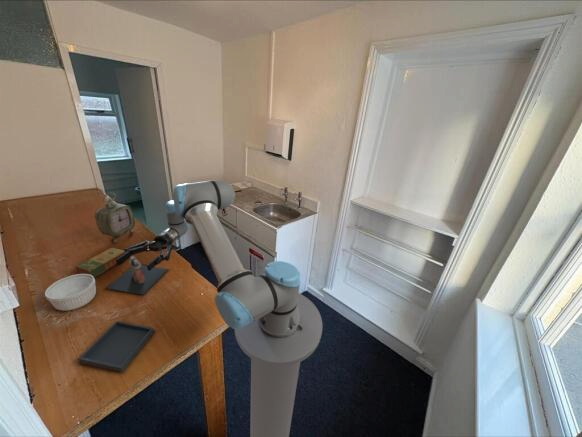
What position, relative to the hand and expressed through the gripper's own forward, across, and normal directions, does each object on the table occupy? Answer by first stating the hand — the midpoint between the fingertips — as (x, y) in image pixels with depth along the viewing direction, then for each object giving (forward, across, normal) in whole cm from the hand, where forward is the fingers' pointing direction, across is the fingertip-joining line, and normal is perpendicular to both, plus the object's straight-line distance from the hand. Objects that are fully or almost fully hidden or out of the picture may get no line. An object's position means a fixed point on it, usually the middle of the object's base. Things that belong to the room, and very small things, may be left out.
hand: (132, 265), depth 93 cm
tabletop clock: (-28, +33, -8) cm, 44 cm away
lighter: (-1, 0, -8) cm, 8 cm away
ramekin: (+14, +13, -8) cm, 21 cm away
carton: (-5, +20, -8) cm, 23 cm away
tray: (+27, -16, -8) cm, 32 cm away
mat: (-1, 0, -8) cm, 8 cm away
